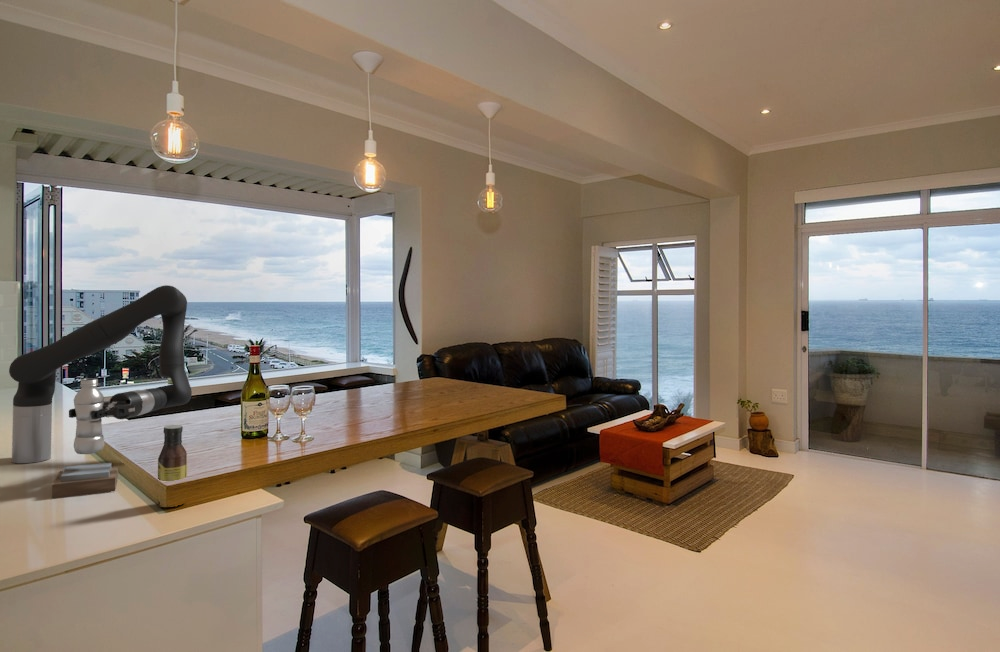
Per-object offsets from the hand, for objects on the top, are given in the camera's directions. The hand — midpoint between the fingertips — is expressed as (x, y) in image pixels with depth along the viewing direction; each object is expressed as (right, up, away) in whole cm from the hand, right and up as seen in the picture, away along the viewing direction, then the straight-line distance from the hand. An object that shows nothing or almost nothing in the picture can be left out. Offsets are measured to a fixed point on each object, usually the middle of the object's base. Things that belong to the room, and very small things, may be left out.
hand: (81, 414), depth 144 cm
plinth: (-1, -20, +3) cm, 20 cm away
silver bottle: (0, -11, +3) cm, 11 cm away
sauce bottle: (+28, -22, -8) cm, 36 cm away
